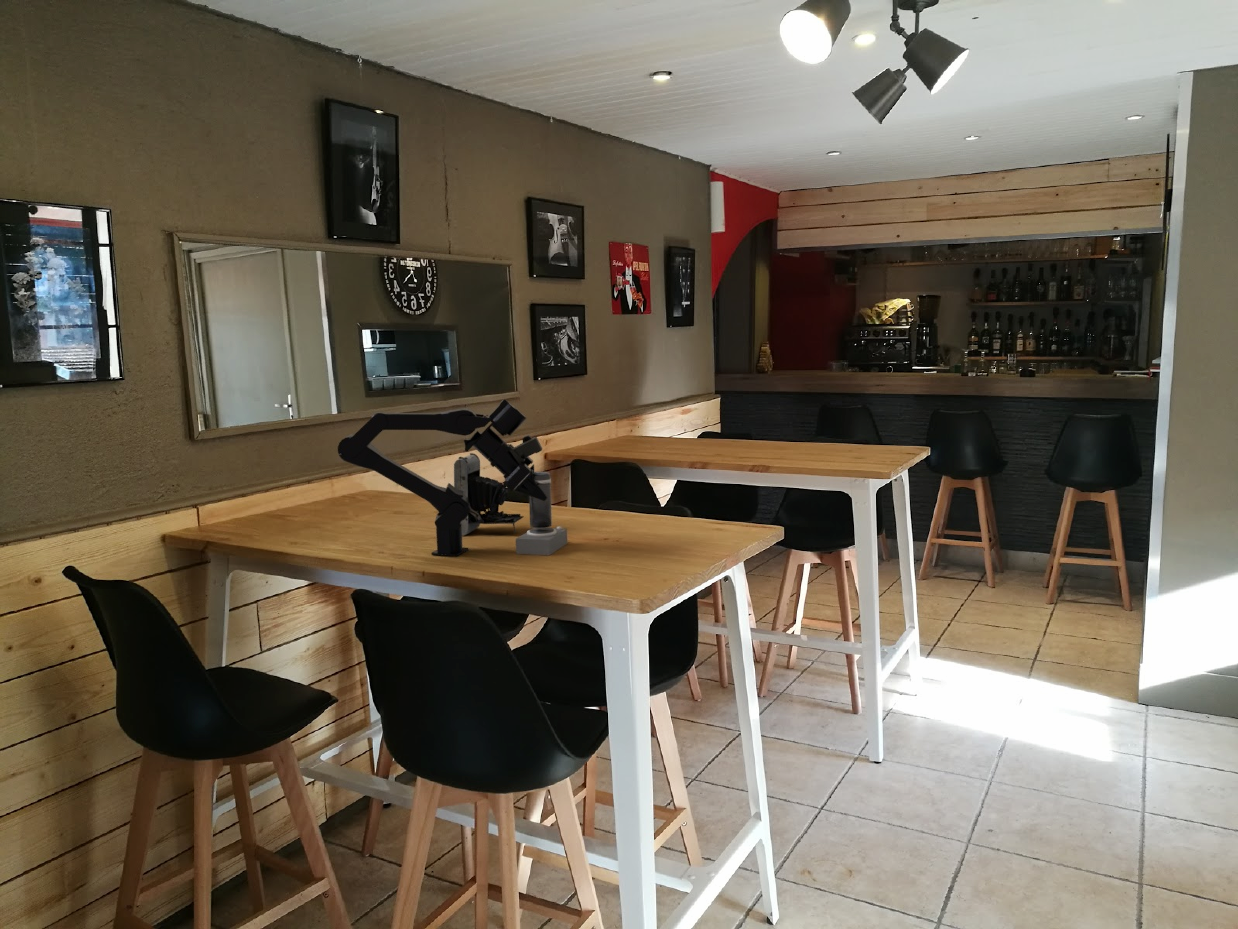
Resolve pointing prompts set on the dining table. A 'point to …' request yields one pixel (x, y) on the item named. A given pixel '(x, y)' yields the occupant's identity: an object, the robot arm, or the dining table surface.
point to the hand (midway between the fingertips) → (546, 497)
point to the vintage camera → (480, 495)
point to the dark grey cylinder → (541, 502)
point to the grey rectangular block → (541, 541)
